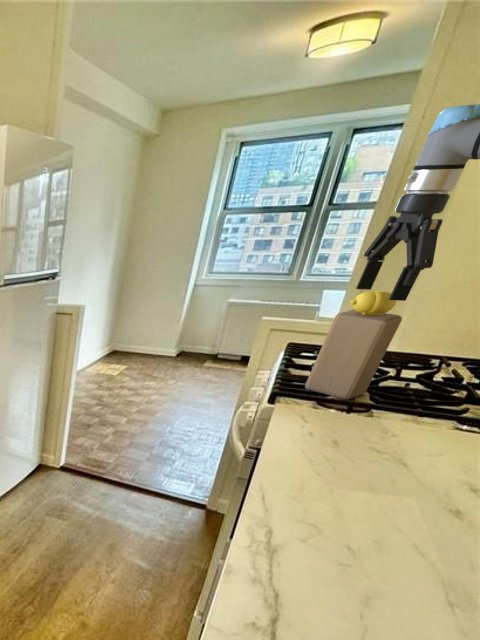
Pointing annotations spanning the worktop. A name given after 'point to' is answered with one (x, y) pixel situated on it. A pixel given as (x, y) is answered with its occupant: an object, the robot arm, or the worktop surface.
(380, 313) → the lemon
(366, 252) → the robot arm
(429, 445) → the worktop surface
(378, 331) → the block
